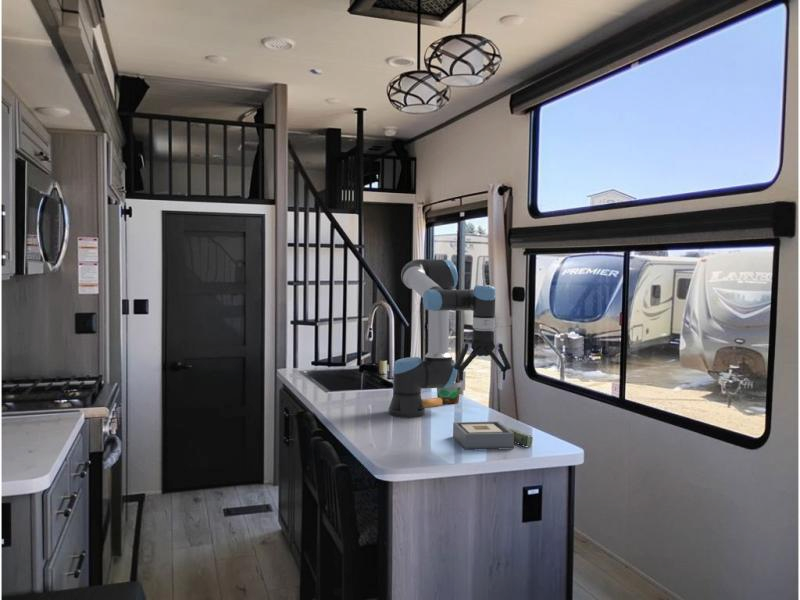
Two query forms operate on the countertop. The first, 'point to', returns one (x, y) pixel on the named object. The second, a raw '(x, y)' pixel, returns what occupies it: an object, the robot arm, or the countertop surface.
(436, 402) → the peg
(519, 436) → the medication box
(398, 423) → the countertop surface
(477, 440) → the box
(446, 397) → the food container
